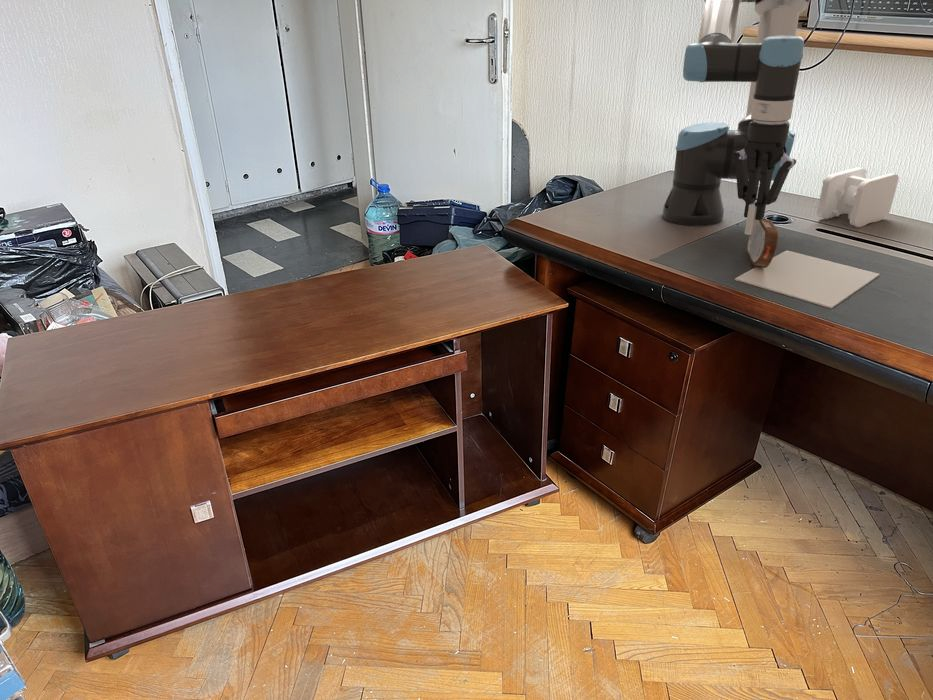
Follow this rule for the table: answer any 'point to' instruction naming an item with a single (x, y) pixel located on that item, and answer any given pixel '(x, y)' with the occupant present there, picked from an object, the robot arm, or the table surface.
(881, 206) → the cable organizer
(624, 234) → the table surface
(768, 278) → the mat
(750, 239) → the tin
